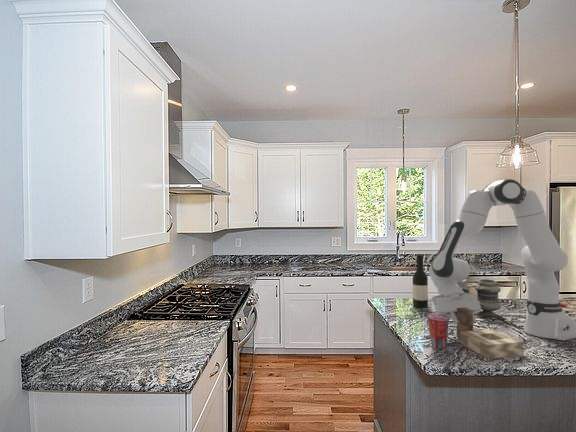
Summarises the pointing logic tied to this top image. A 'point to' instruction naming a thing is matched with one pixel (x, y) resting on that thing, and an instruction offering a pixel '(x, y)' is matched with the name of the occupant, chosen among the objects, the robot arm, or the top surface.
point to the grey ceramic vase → (488, 297)
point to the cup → (438, 330)
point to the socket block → (492, 343)
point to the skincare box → (463, 284)
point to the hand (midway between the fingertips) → (465, 322)
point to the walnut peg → (464, 320)
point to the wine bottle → (420, 285)
